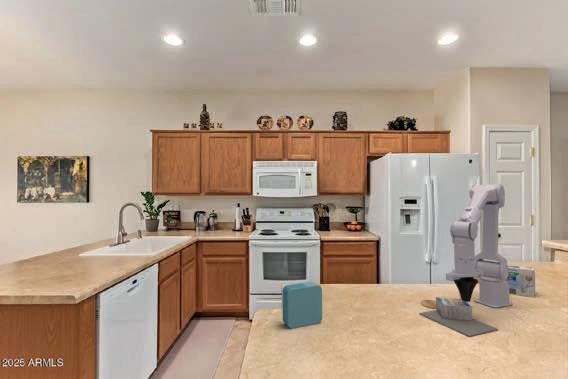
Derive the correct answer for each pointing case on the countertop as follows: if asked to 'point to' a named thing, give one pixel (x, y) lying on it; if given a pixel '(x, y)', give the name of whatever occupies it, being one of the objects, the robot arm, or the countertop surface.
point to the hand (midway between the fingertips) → (465, 300)
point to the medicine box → (453, 308)
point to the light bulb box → (521, 280)
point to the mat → (460, 324)
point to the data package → (302, 304)
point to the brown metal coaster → (429, 303)
